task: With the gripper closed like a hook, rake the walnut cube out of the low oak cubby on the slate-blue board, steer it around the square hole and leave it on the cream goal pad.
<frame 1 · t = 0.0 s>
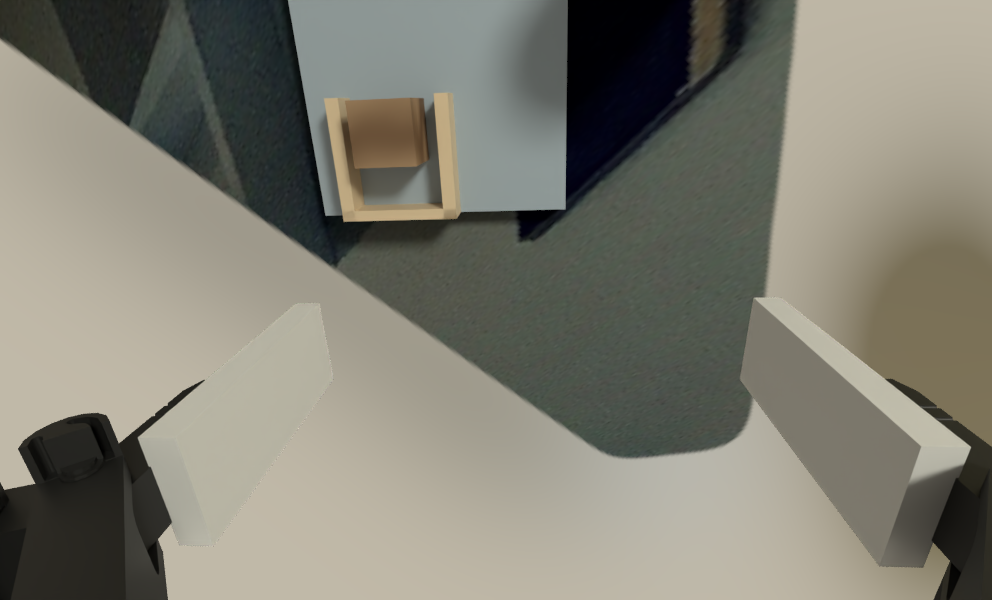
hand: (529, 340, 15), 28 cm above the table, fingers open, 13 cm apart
walnut cube: (398, 130, 38), point 2 cm above the table, touching board
board: (434, 44, 37), on the table
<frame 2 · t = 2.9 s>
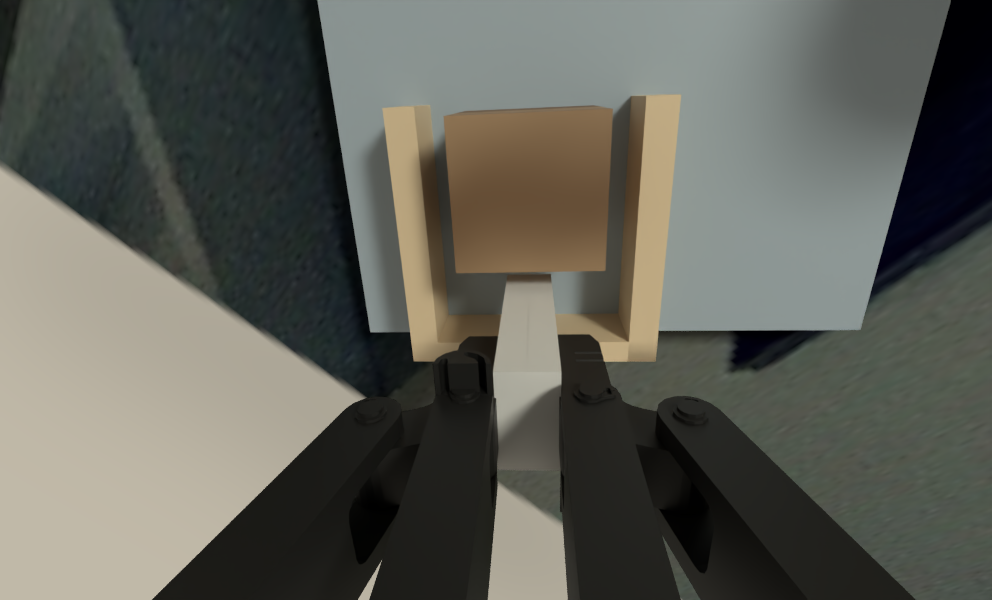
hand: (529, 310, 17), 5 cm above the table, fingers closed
walnut cube: (530, 173, 18), point 2 cm above the table, touching board
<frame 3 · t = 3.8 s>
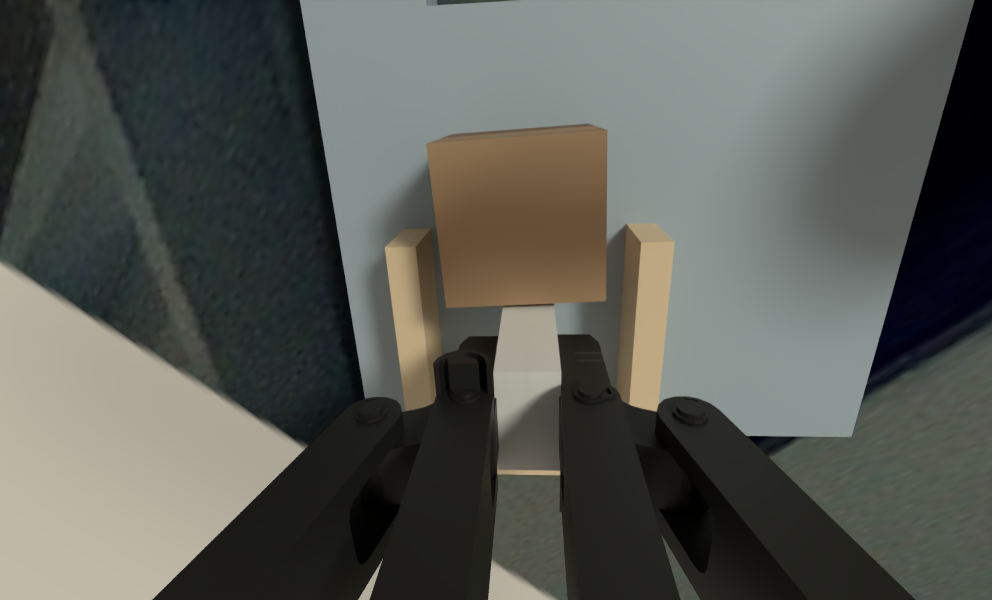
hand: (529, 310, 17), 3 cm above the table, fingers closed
walnut cube: (523, 196, 17), point 2 cm above the table, touching board, gripper
board: (608, 117, 18), on the table
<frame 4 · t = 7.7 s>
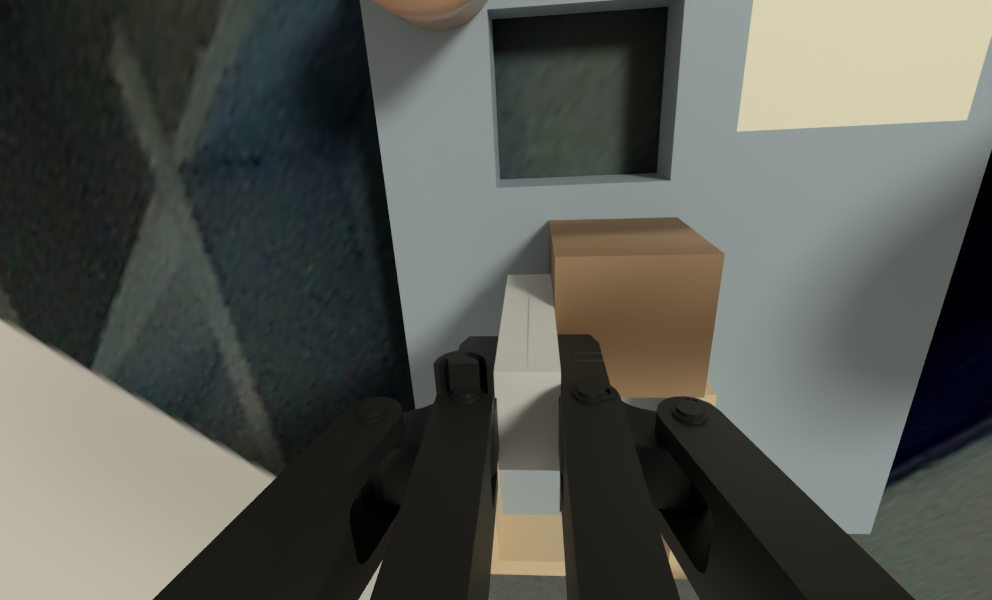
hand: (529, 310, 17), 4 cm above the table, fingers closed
walnut cube: (609, 278, 18), point 2 cm above the table, touching gripper
board: (650, 260, 20), on the table
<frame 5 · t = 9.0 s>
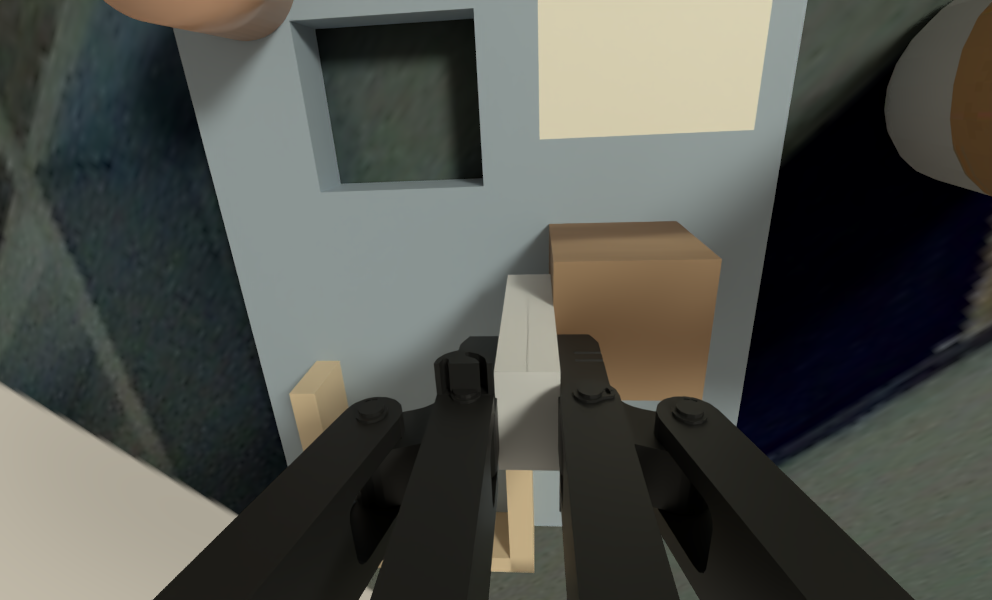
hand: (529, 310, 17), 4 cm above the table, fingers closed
walnut cube: (609, 281, 18), point 2 cm above the table, touching board, gripper
board: (493, 263, 20), on the table
coffee cup: (971, 85, 17), on the table
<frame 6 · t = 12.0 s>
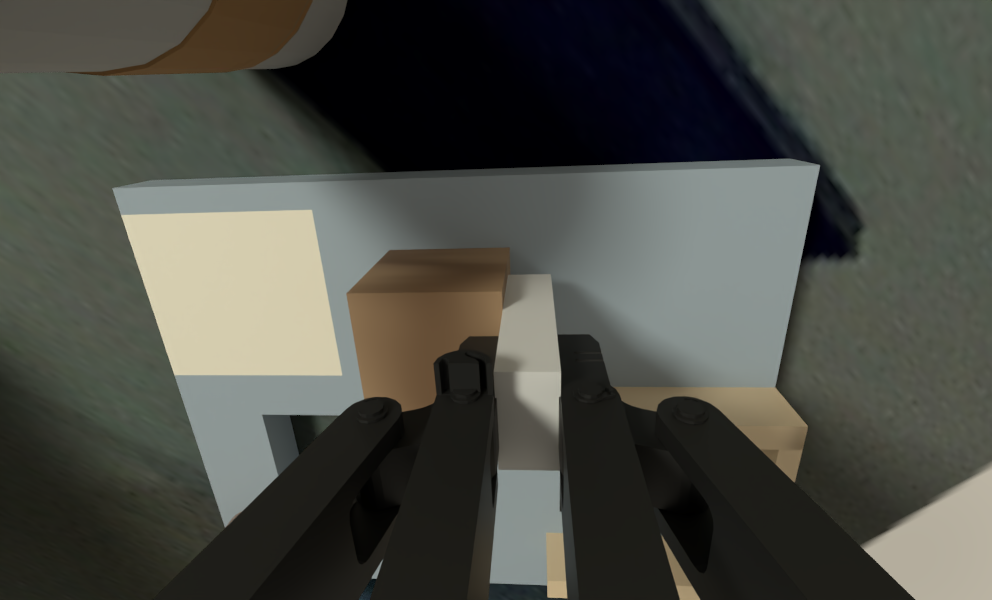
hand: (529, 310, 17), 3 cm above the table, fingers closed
walnut cube: (453, 304, 19), point 2 cm above the table, touching board, gripper
board: (469, 390, 23), on the table
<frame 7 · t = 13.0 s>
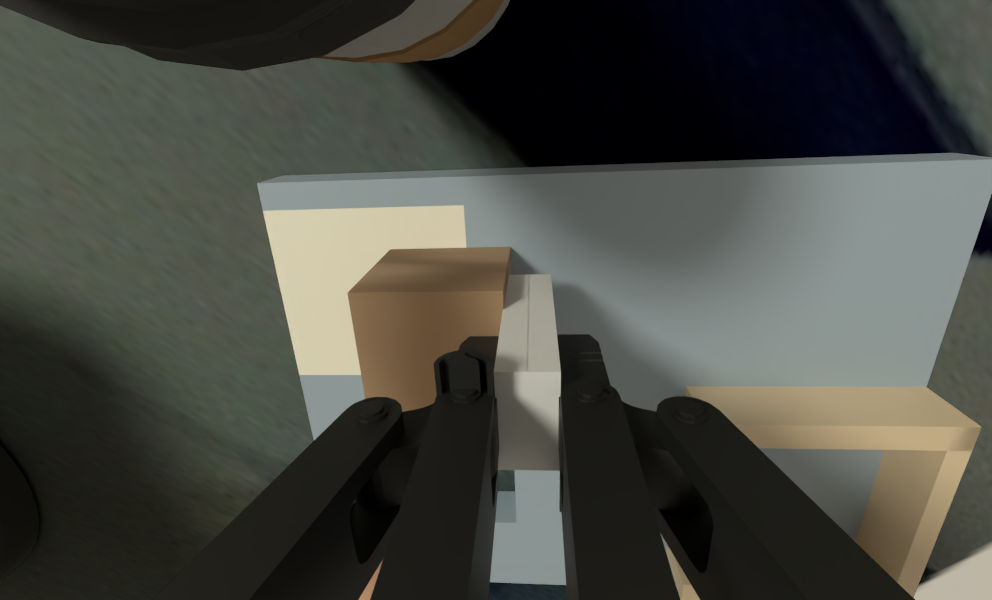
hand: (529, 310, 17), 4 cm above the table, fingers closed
walnut cube: (454, 304, 19), point 2 cm above the table, touching gripper
board: (591, 390, 22), on the table
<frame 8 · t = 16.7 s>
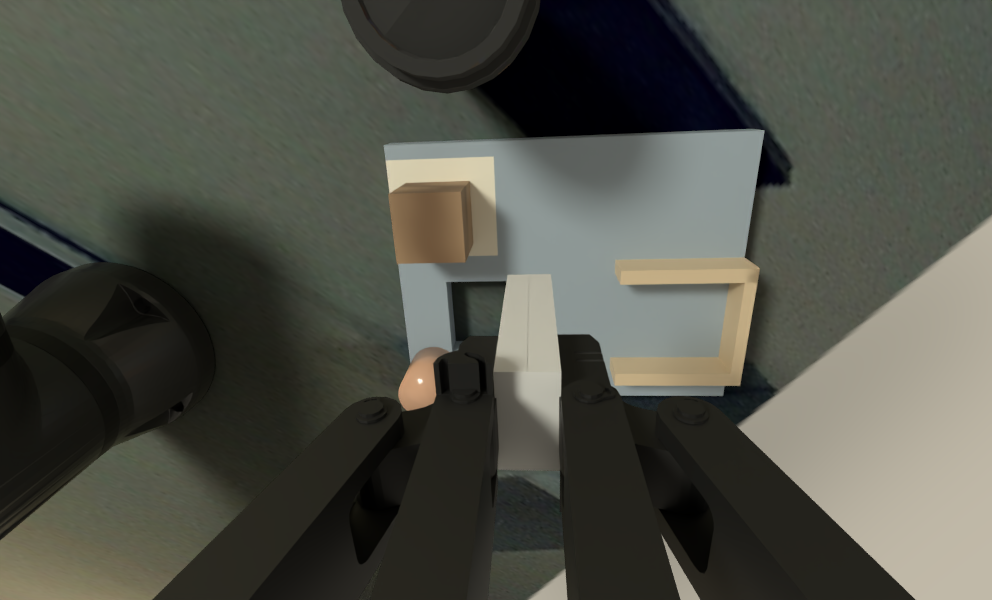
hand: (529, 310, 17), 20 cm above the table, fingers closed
walnut cube: (440, 213, 35), point 2 cm above the table, touching board
board: (564, 271, 38), on the table
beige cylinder: (435, 368, 40), point 2 cm above the table, touching board
coffee cup: (475, 28, 32), on the table
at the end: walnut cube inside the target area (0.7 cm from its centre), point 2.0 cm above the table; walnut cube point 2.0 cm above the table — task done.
